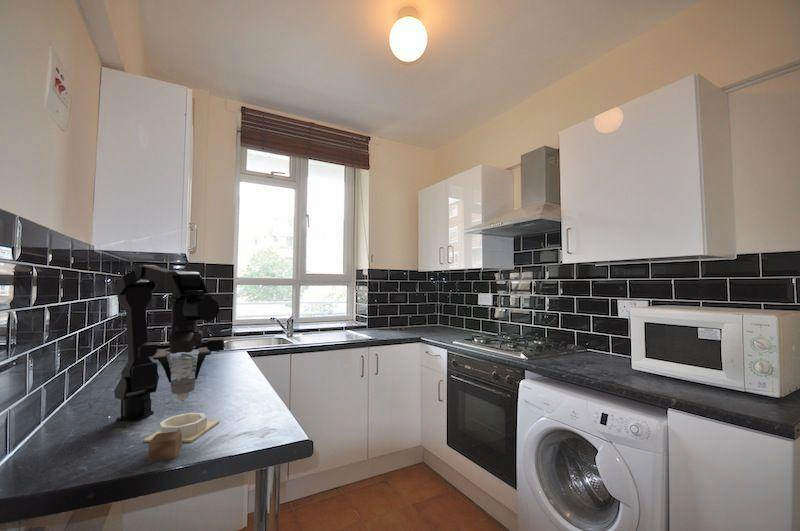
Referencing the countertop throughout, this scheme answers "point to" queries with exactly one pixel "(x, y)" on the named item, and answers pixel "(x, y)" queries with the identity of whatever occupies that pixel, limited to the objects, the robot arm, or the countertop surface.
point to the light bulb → (183, 376)
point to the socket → (185, 426)
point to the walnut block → (165, 445)
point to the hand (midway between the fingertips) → (183, 380)
